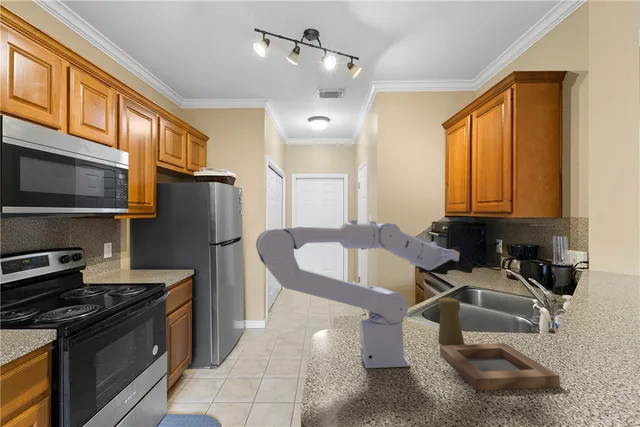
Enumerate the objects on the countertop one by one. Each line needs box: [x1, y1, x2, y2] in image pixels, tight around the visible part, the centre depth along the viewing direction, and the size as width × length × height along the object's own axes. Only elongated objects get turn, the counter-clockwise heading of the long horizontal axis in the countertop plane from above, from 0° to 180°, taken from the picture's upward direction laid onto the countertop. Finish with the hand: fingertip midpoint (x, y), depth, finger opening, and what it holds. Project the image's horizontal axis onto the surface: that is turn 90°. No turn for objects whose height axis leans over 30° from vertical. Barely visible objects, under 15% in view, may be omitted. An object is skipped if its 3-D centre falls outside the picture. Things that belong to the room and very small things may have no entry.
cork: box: [437, 297, 465, 346], centre depth 73 cm, size 6×6×11 cm
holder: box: [439, 342, 561, 392], centre depth 59 cm, size 15×15×2 cm
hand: (458, 270), depth 72 cm, fingers open, 7 cm apart
